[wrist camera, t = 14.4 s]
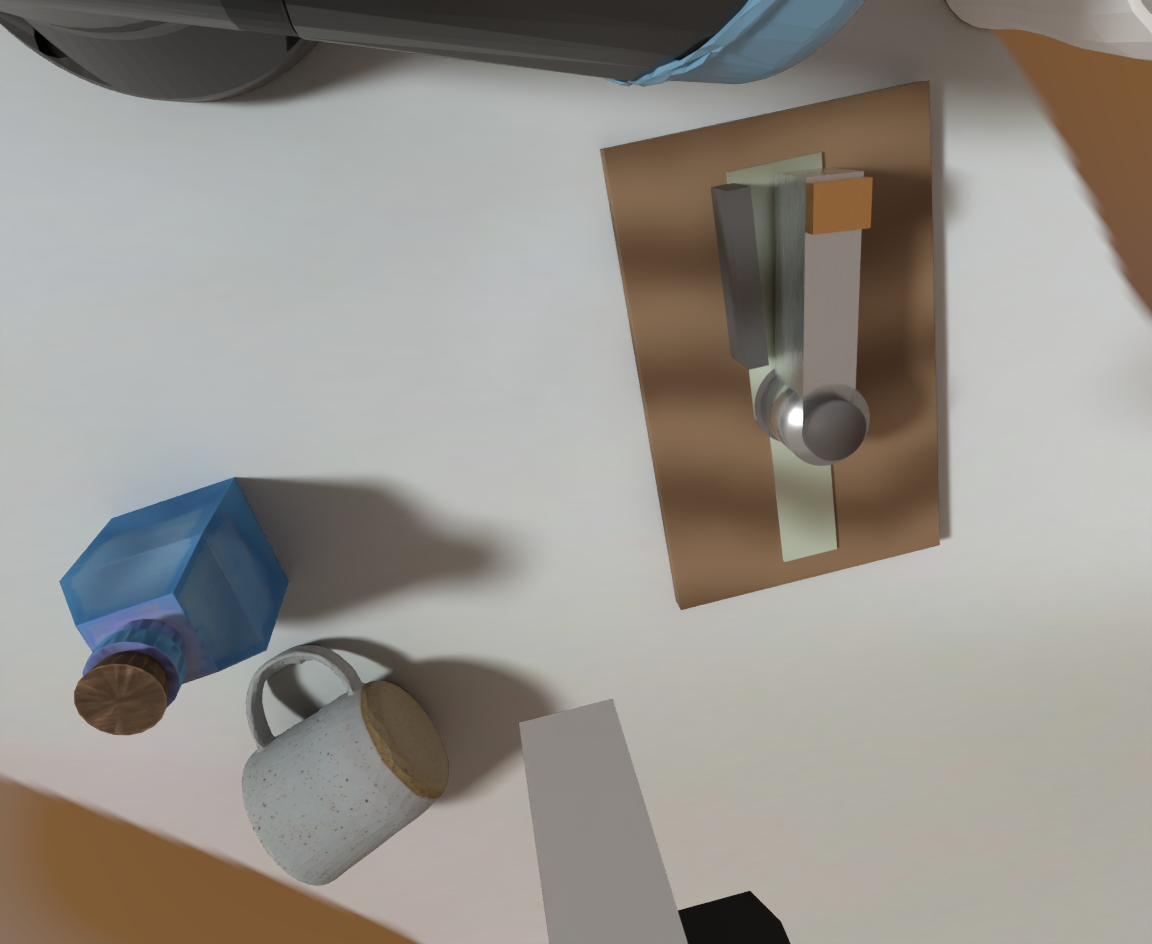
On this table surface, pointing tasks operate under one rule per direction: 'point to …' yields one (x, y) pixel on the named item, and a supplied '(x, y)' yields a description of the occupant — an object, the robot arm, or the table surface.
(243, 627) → the perfume bottle
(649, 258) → the lock board
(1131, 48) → the cup
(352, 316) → the table surface
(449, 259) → the table surface
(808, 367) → the swing bar
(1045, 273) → the table surface
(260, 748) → the ceramic mug
